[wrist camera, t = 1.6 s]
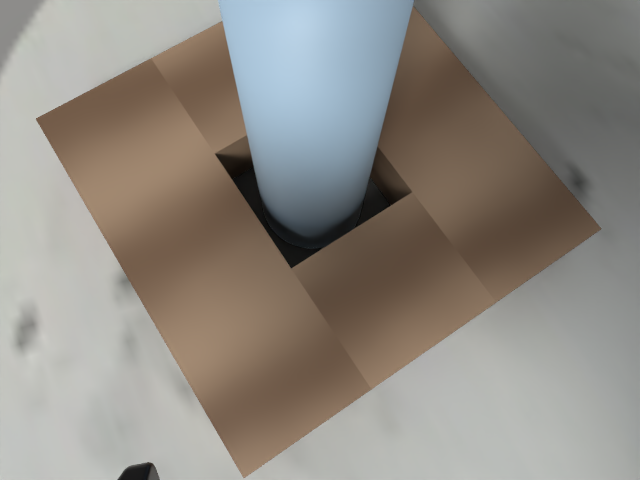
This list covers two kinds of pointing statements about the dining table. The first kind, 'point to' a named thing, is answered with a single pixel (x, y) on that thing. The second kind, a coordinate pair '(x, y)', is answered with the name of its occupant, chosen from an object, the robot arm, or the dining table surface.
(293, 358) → the pocket block
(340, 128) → the peg
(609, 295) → the dining table surface
